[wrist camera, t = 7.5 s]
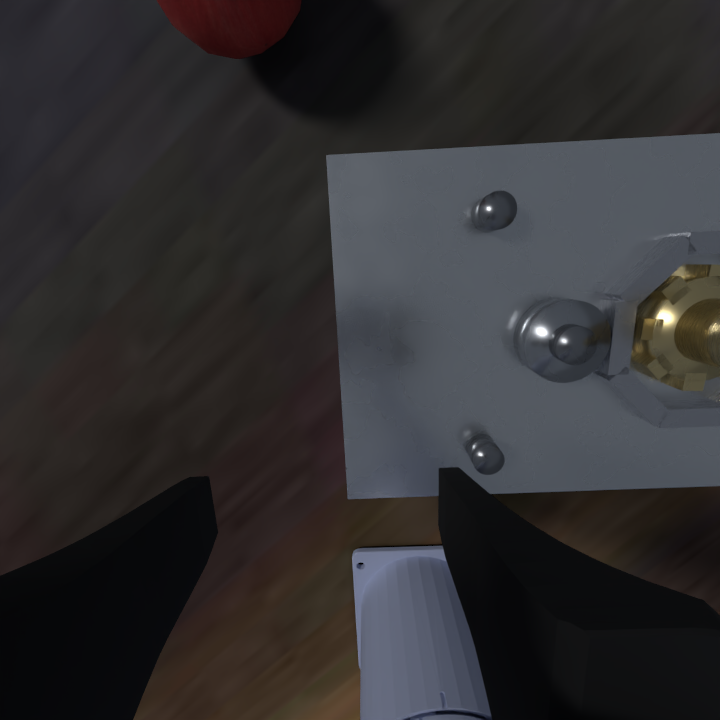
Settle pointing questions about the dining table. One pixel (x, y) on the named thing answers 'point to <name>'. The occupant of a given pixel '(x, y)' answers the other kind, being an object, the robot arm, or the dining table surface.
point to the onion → (232, 23)
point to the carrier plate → (518, 314)
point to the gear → (681, 329)
